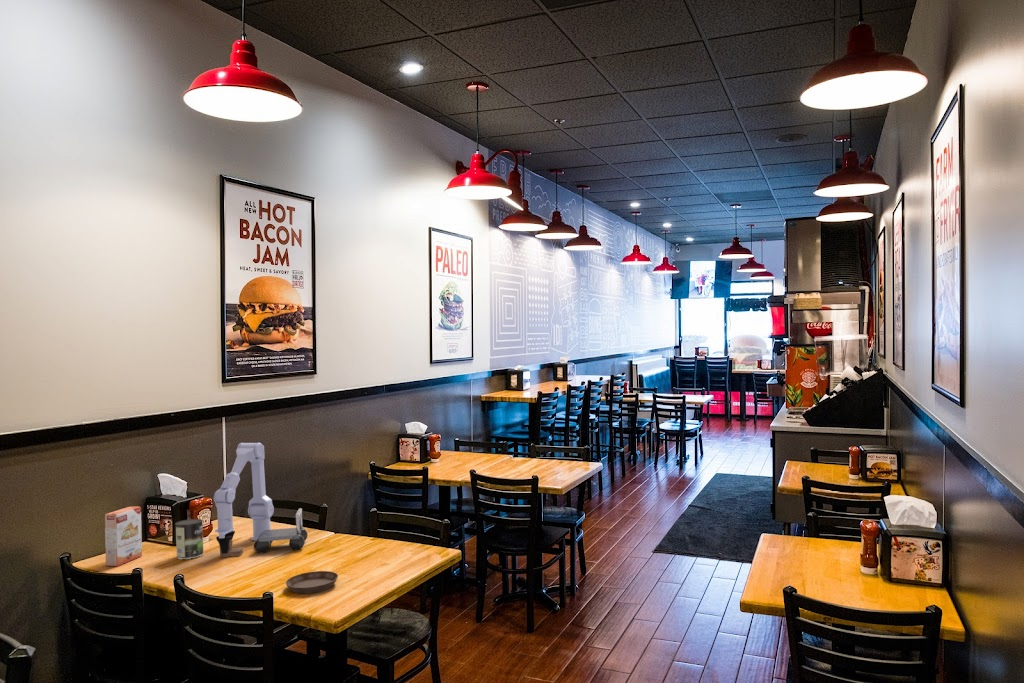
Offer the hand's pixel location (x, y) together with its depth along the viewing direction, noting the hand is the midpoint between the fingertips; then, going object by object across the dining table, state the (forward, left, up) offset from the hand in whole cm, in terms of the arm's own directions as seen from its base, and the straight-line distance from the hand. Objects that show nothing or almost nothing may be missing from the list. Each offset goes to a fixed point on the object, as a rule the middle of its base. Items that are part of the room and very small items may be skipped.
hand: (226, 551), depth 293 cm
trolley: (-5, +21, -2) cm, 22 cm away
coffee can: (-4, -15, -2) cm, 16 cm away
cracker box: (-4, -40, -2) cm, 40 cm away
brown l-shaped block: (0, +2, -2) cm, 3 cm away
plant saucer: (+50, +39, -2) cm, 63 cm away
